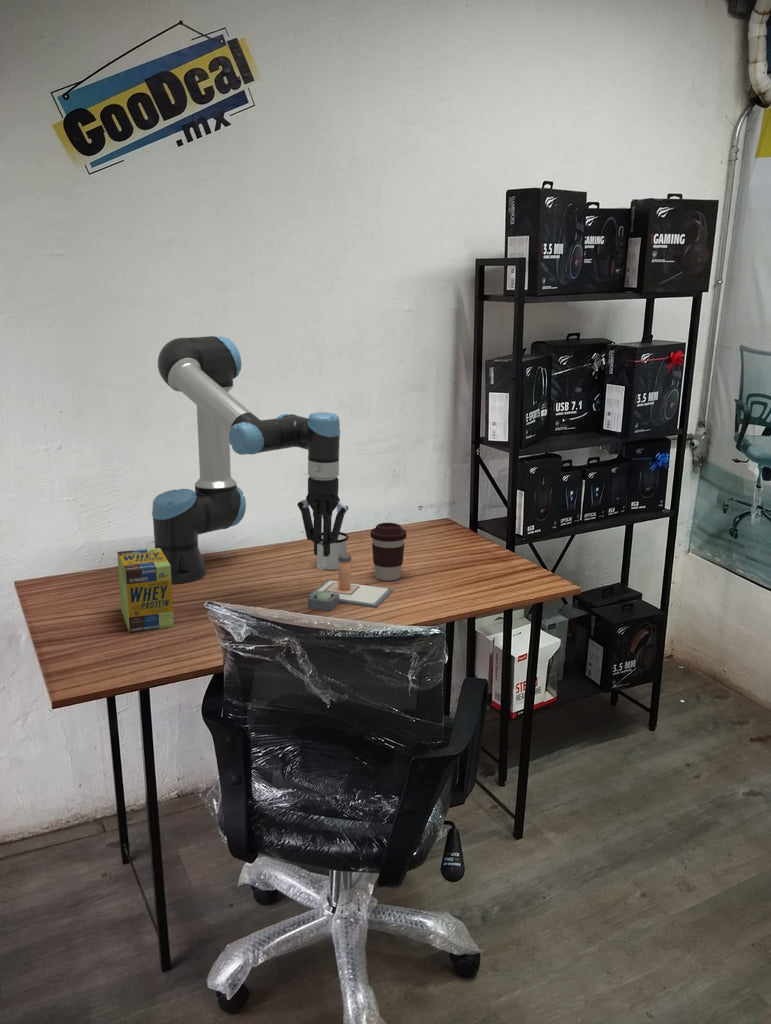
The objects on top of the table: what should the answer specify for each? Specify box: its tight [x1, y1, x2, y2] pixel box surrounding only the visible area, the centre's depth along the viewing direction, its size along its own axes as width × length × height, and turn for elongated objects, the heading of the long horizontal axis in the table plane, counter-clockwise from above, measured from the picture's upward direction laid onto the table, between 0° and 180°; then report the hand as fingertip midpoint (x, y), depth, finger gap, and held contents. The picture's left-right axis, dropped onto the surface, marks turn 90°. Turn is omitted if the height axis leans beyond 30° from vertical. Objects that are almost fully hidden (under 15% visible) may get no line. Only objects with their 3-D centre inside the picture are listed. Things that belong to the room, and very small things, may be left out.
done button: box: [317, 591, 331, 600], centre depth 215 cm, size 4×4×3 cm
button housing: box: [307, 591, 340, 612], centre depth 215 cm, size 6×6×2 cm
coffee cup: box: [370, 522, 407, 582], centre depth 235 cm, size 10×10×15 cm
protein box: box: [116, 547, 175, 633], centre depth 203 cm, size 10×15×16 cm
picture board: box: [307, 579, 394, 609], centre depth 223 cm, size 19×13×1 cm
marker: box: [338, 553, 352, 591], centre depth 224 cm, size 3×3×9 cm
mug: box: [321, 531, 350, 571], centre depth 246 cm, size 12×10×9 cm
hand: (321, 567), depth 213 cm, fingers closed
